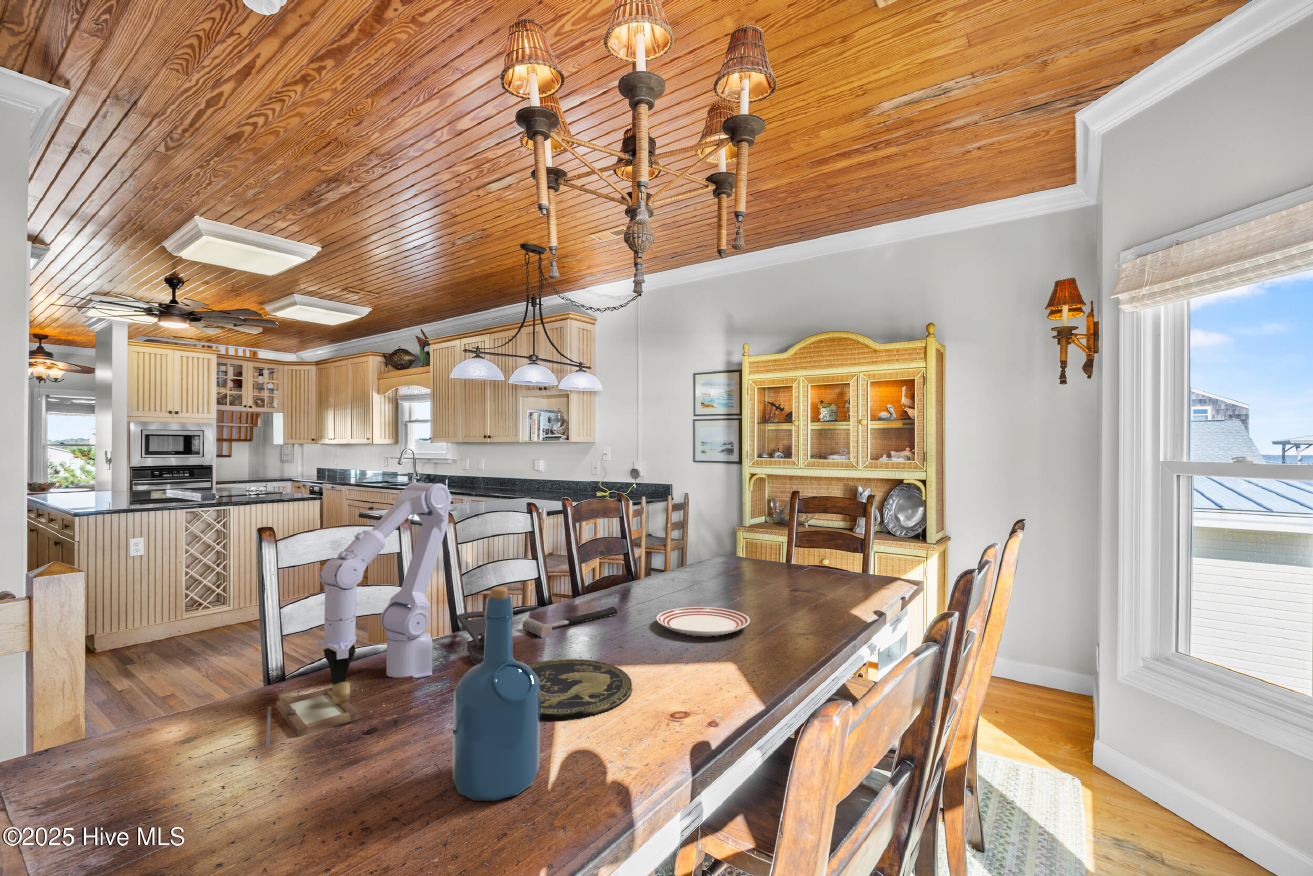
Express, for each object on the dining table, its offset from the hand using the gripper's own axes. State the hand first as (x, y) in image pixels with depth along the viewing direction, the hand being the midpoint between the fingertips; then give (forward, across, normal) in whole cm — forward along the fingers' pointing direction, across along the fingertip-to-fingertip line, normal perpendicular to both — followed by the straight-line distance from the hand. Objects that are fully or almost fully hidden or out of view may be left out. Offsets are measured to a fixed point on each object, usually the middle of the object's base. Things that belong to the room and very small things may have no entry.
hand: (338, 683), depth 121 cm
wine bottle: (+3, +46, +19) cm, 50 cm away
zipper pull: (+3, -16, +34) cm, 37 cm away
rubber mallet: (+4, -23, +64) cm, 68 cm away
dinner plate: (+4, -1, +95) cm, 95 cm away
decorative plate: (+4, +19, +42) cm, 46 cm away
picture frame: (+2, +7, -4) cm, 8 cm away
